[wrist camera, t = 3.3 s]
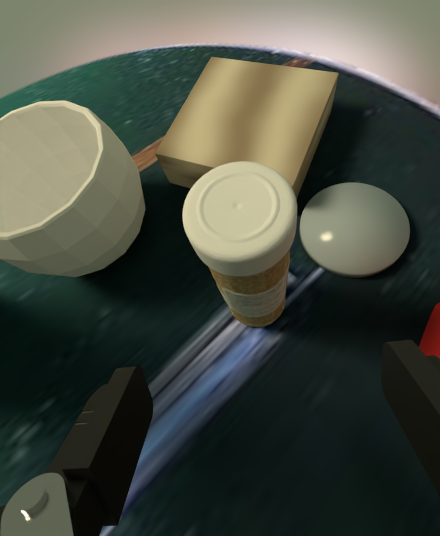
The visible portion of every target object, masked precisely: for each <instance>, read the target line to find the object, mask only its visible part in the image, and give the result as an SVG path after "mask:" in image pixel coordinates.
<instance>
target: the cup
mask: <svg viewBox="0 0 440 536" xmlns="http://www.w3.org/2000/svg"><path fill="white" fill-rule="evenodd" d="M144 213H145V203H144V197H143V192H142V186H141V181H140V176H139V171H138V167H137V166H136V164H135V162H134V161H133V159H132V157H131V156H130V154H129V152H128V151H127V149H126V148H125V146H124V144H123V143H122V142H121V141H120V140H119V138H118V137H117V136H116V135H115V134H114V132H113V131H112V130H111V129H110V128H109V127H108V126H107V125H106V124H105V123H104V122H103V121H102V120H101V119H99V118H98V117H97V116H96V115H95V114H94V113H93V112H92V111H91V110H89V109H87V108H85V107H82V106H79V105H76V104H74V103H71V102H68V101H44V102H37V103H34V104H31V105H28V106H25V107H22V108H19V109H16V110H14V111H11V112H10V113H8V114H6V115H5V116H3V117H2V118H0V259H2V260H4V261H6V262H8V263H10V264H12V265H14V266H16V267H18V268H20V269H22V270H24V271H27V272H30V273H39V274H49V275H59V276H69V277H79V276H82V275H85V274H88V273H92V272H95V271H98V270H102V269H103V268H105V267H107V266H108V265H109V264H111V263H112V262H114V261H115V260H116V259H118V258H119V257H120V256H122V255H123V254H125V252H126V251H127V249H128V248H129V247H130V245H131V244H132V242H133V241H134V240H135V238H136V237H137V235H138V233H139V232H140V228H141V224H142V220H143V217H144Z"/></svg>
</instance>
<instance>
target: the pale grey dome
mask: <svg viewBox="0 0 440 536" xmlns="http://www.w3.org/2000/svg"><path fill="white" fill-rule="evenodd" d="M299 235H300V241H301V244H302V246H303V248H304V250H305V252H306V254H307V255H308V257H309V258H310V259H311V260H312V261H313V262H314V263H315V264H316V265H318V266H319V267H321V268H322V269H324V270H326V271H327V272H329V273H332V274H335V275H338V276H342V277H348V278H362V277H368V276H373V275H375V274H378V273H380V272H382V271H384V270H386V269H387V268H388V267H390V266H391V265H392V264H393V263H394V262H395V261H396V260H397V259H398V258H399V257H400V256H401V254H402V253H403V252H404V250H405V248H406V246H407V244H408V241H409V236H410V226H409V221H408V217H407V215H406V213H405V211H404V209H403V208H402V206H401V205H400V204H399V203H398V201H397V200H396V199H394V198H393V197H392V196H391V195H389V194H388V193H387V192H385V191H383V190H381V189H379V188H377V187H374V186H371V185H367V184H362V183H341V184H337V185H333V186H330V187H327V188H325V189H323V190H322V191H320V192H319V193H317V194H316V195H315V196H313V197H312V198H311V199H310V201H309V202H308V203H307V205H306V206H305V208H304V210H303V213H302V216H301V221H300V228H299Z"/></svg>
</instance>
